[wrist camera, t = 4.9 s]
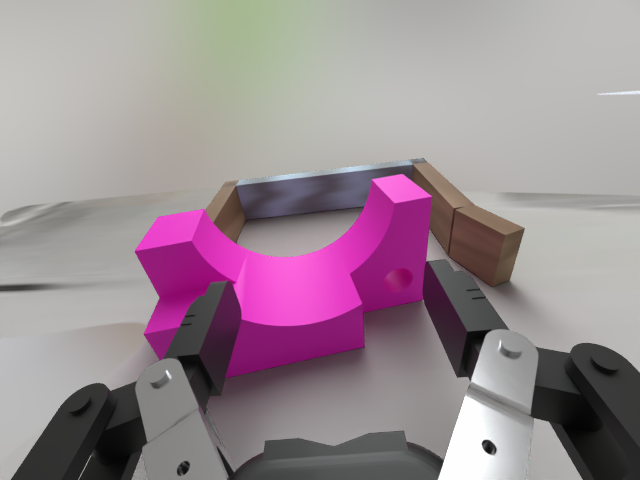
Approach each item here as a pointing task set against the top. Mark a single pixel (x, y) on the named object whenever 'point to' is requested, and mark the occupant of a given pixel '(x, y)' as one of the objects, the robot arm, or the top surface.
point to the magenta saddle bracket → (292, 279)
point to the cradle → (353, 190)
